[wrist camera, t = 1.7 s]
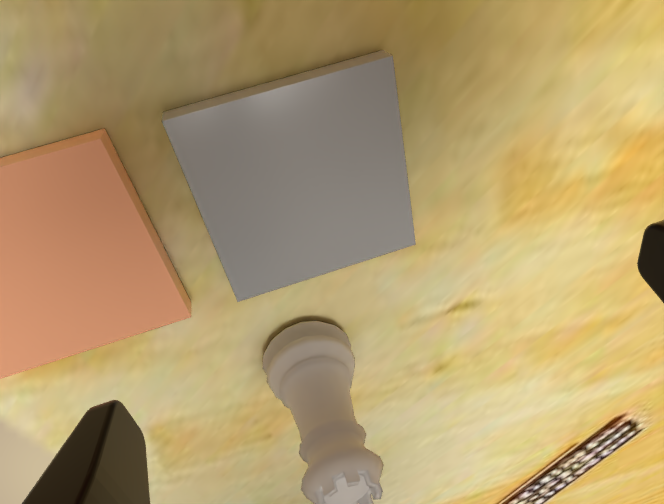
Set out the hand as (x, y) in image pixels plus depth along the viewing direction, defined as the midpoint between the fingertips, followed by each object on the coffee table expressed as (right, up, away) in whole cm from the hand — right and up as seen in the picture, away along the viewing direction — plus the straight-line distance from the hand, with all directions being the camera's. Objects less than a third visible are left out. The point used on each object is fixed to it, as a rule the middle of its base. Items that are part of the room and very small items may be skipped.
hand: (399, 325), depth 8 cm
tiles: (-7, +3, +11) cm, 13 cm away
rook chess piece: (-3, -4, +17) cm, 17 cm away
